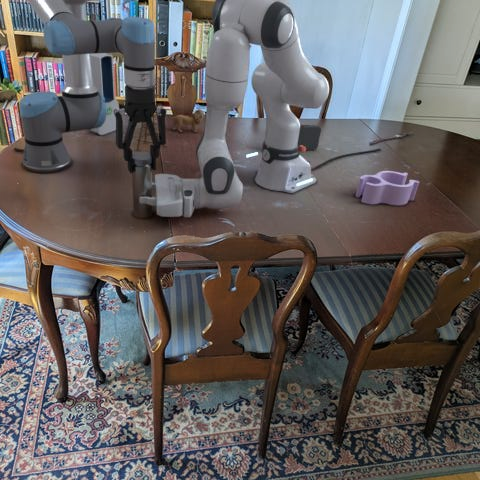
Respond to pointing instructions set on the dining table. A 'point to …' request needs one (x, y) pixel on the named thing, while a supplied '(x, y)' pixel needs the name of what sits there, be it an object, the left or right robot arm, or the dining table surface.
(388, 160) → the dining table surface
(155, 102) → the miniature windmill
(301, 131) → the handheld gaming console
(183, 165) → the dining table surface
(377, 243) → the dining table surface
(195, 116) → the lion figurine
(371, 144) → the sword
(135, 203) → the jar
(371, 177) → the clip
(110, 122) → the electronic device
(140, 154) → the lid
